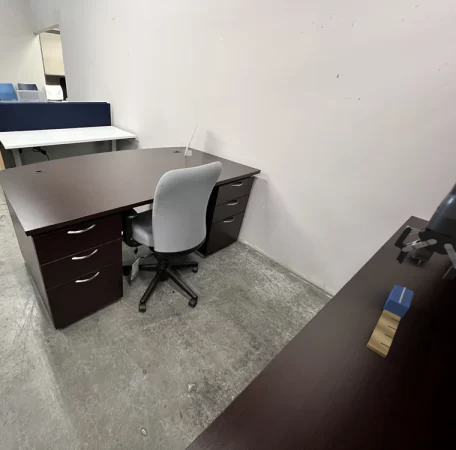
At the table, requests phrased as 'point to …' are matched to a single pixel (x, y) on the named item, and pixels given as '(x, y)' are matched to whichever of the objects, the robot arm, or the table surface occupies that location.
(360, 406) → the table surface
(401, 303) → the pencil case
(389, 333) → the ruler
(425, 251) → the alarm clock
